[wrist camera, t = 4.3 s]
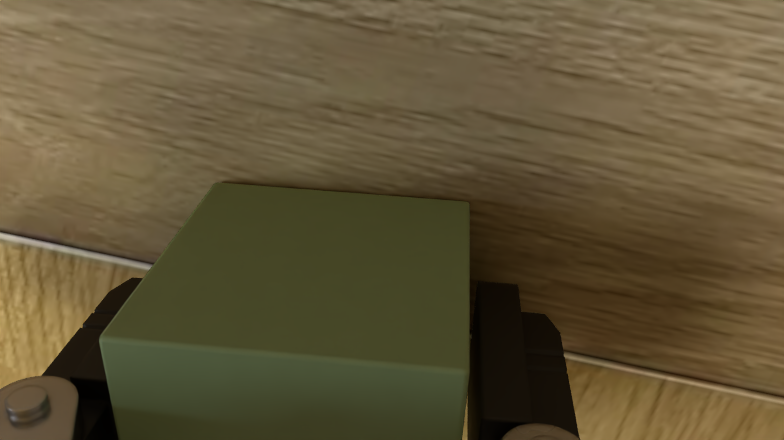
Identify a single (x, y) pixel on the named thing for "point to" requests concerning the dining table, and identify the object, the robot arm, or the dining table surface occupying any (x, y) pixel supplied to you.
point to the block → (298, 321)
